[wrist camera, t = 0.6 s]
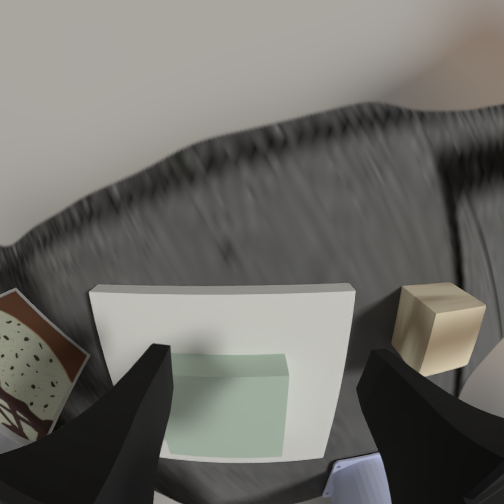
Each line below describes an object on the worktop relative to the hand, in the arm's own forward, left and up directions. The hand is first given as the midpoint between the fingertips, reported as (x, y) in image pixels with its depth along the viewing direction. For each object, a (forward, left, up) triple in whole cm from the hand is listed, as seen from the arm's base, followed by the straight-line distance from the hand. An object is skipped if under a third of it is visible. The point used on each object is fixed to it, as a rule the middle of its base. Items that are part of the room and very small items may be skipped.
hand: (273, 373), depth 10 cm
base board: (-10, +3, -10) cm, 14 cm away
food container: (-7, +20, -10) cm, 23 cm away
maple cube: (-4, -13, -10) cm, 17 cm away
